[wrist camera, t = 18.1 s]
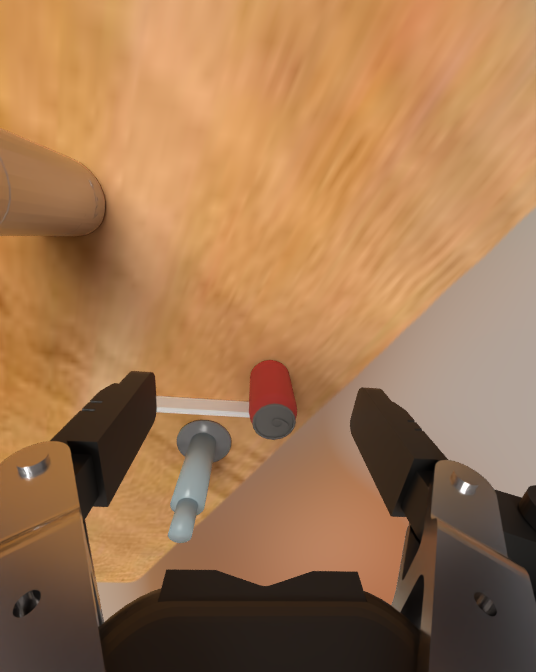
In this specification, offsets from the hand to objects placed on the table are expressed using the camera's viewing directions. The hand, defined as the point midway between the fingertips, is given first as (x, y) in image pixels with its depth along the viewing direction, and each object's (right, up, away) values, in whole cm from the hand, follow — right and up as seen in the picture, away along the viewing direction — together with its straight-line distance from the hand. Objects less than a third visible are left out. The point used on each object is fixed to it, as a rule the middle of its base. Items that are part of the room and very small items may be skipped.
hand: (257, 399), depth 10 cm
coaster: (-12, -17, +39) cm, 44 cm away
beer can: (+1, -4, +34) cm, 34 cm away
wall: (-10, -9, +35) cm, 38 cm away
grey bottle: (-12, -17, +38) cm, 44 cm away
